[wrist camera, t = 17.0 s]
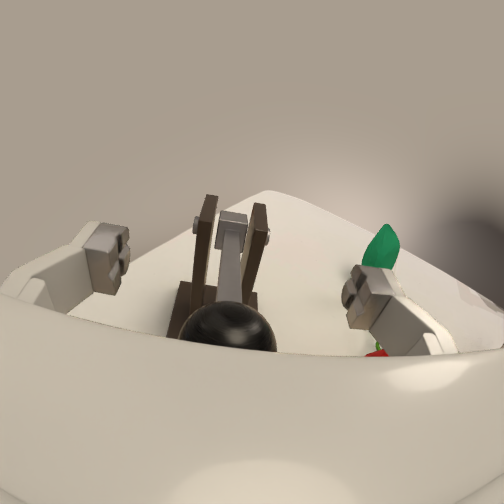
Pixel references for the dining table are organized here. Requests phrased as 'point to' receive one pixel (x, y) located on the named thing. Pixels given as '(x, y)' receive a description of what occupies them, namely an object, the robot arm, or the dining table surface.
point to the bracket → (197, 291)
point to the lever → (229, 299)
